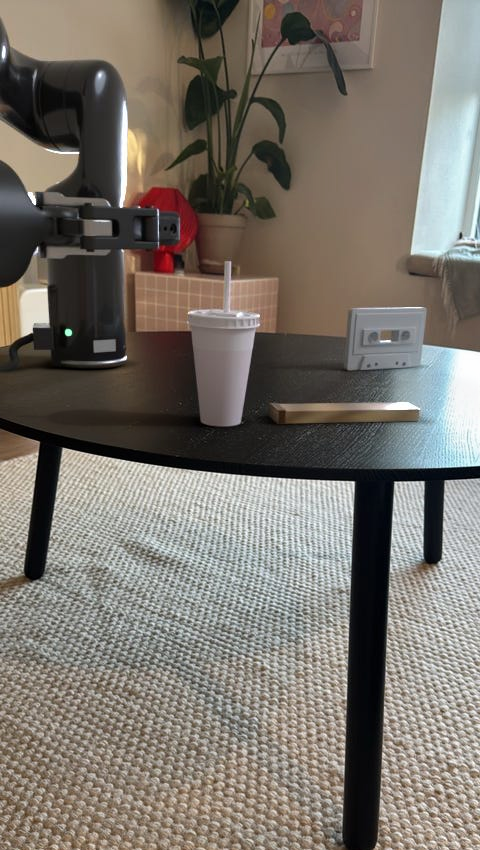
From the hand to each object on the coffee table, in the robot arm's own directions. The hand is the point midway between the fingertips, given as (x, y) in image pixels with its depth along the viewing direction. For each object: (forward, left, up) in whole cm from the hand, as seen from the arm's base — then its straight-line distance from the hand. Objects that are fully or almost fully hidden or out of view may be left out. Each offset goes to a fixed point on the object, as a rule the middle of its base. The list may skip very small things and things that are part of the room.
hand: (133, 226), depth 55 cm
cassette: (+35, +34, -17) cm, 52 cm away
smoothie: (+8, +7, -17) cm, 20 cm away
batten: (+20, +7, -17) cm, 27 cm away
